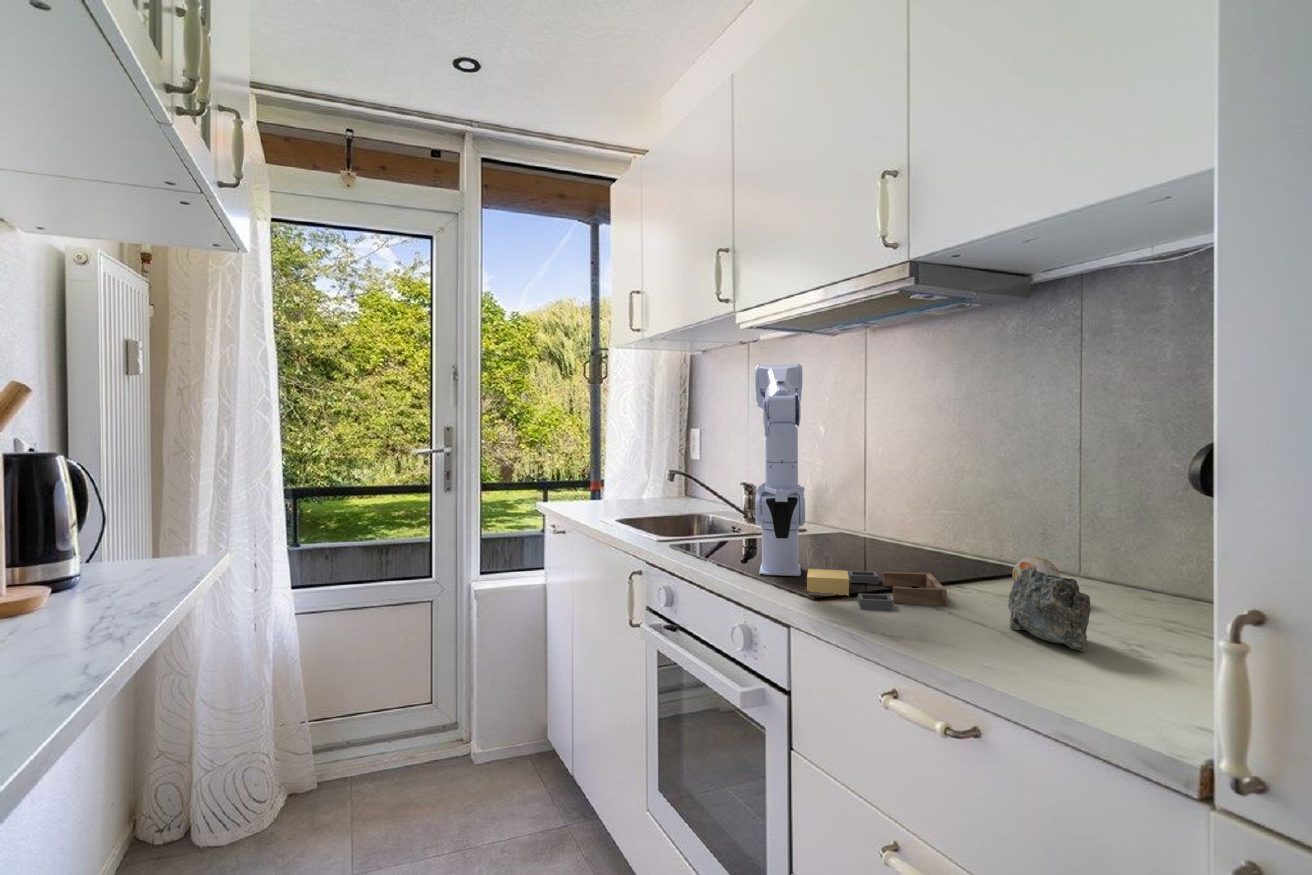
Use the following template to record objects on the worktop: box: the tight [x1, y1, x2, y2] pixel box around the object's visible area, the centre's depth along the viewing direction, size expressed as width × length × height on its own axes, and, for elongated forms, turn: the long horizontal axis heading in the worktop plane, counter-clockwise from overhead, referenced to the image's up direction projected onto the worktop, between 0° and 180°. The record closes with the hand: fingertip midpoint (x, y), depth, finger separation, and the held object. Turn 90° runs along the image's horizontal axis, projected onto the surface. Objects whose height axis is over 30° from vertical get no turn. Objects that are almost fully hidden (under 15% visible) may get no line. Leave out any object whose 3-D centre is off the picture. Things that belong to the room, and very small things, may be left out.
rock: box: [1007, 567, 1092, 652], centre depth 95 cm, size 14×10×10 cm
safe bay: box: [882, 571, 948, 606], centre depth 120 cm, size 13×8×2 cm, turn 169°
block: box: [806, 568, 850, 598], centre depth 122 cm, size 7×7×4 cm
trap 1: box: [848, 570, 879, 584], centre depth 130 cm, size 4×5×2 cm
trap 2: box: [857, 593, 894, 611], centre depth 112 cm, size 4×5×2 cm
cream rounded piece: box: [1012, 556, 1061, 583], centre depth 115 cm, size 8×10×10 cm
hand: (781, 537), depth 124 cm, fingers closed
